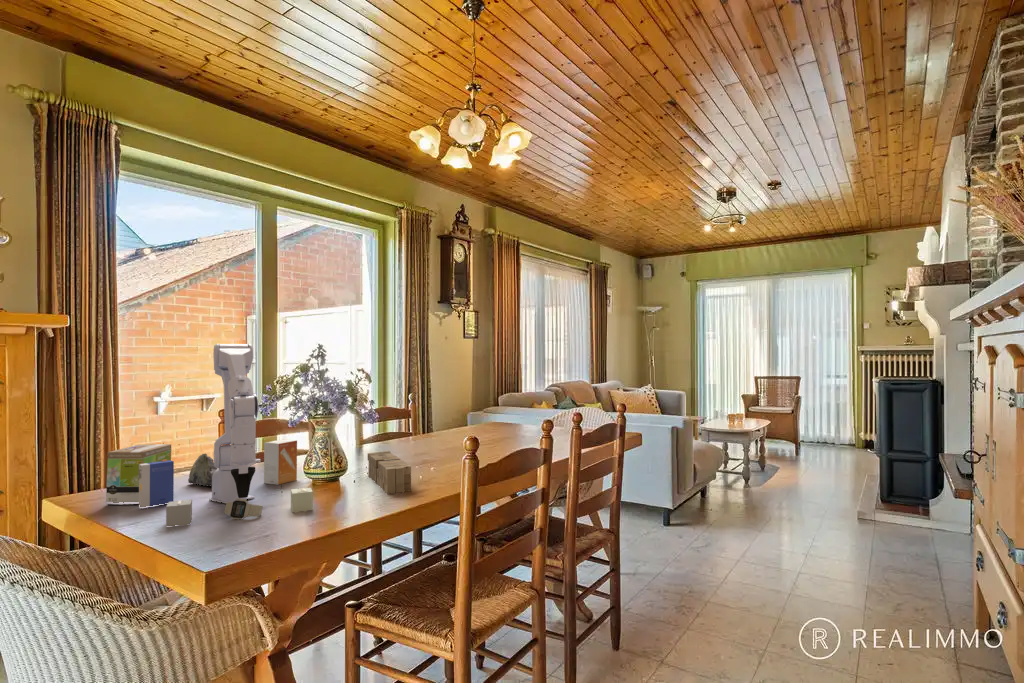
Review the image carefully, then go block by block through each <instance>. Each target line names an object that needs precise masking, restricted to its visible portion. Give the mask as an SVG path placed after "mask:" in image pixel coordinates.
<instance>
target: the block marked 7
mask: <svg viewBox="0 0 1024 683" xmlns="http://www.w3.org/2000/svg"><path fill="white" fill-rule="evenodd" d="M313 494H314V492H313V490H312V487H304V488H292V489H290V510H291V509H292V510H291V512H295V513H300V512H299V511H304V512H308V511H307V510H313V508H314V504H313V502H314V501H313V500H314V495H313ZM313 511H314V510H313Z"/></svg>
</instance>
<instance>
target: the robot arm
mask: <svg viewBox="0 0 1024 683" xmlns="http://www.w3.org/2000/svg"><path fill="white" fill-rule="evenodd" d="M212 357H213V370H214V374H215V375H217V376H220V377H221V379H222V384H223V412H224V415H223V418H224V433H223V434H222V435H221V436H219V437H218V438H217V439H215V442H214V443H213V462H214V466H215V467H216V468H218V469H217V470H216V471H215V472H214V474H213V476H212V486H211V497H210V498H208V500H209V501H211V500H213V501H212V502H216V501H217V502H216V503H221V502H222V504H226V502H233V501H235V500H236V499H240V500H244V499H245V500H247V499H248V500H252V499H255V498H256V497H255V495H250V489H251V484H252V483H251V482H252V479H253V476H254V475H255V473H256V466H254V465H255V464H259V463H261V458H257V457H256V452H257V446H256V443H257V442H256V434H257V432H256V430H257V429H256V428H257V426H256V424H257V422H256V418H258V415H259V399H258V396H257V394H256V393H254V390H253V383H252V380H251V379H250V377H248V376H246V375H248V374H249V373H250V370H251V369H252V364H253V360H254V347H253V345H252V344H251V343H215V345H213V356H212Z"/></svg>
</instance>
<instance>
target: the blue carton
mask: <svg viewBox="0 0 1024 683" xmlns="http://www.w3.org/2000/svg"><path fill="white" fill-rule="evenodd" d="M174 464H175V462H174V460H172V459H171V460H168V461H167V459H166V460H162V461H160V462H152V463H145V464H139V505H140V507H146V506H153V505H159V504H165V503H168V502H173V501H174V498H175V497H174V490H175V489H174V488H175V487H174V486H175V485H174V482H175V480H174V479H175V478H174V477H175V472H174V469H175V468H174V467H175V465H174ZM139 505H138V506H139Z"/></svg>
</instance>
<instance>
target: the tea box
mask: <svg viewBox="0 0 1024 683" xmlns="http://www.w3.org/2000/svg"><path fill="white" fill-rule="evenodd" d="M166 459H167V461H168V460H171V461H172V444H171V443H169V444H168V443H167V444H166V443H165V444H164V443H163V444H162V443H160V444H157V443H156V444H153V443H152V444H151V443H148V444H136V445H133V446H132V445H131V446H128V447H123V448H120V449H116V450H112V451H111V450H110V451H108V452H107V466H106V492H105V494H106V495H105V496H106V497H105V503H106V502H113V503H119V502H123V503H124V502H139V464H145V463H152V462H160V461H162V460H166Z"/></svg>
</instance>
